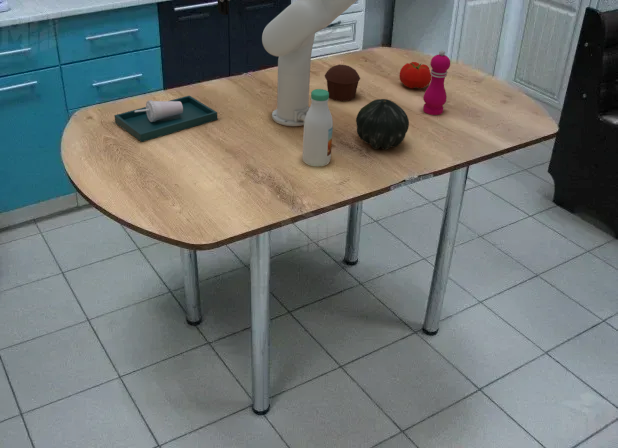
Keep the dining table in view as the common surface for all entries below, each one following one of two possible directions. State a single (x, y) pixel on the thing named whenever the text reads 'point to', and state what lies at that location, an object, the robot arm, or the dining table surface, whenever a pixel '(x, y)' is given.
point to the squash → (382, 124)
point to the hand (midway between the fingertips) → (223, 13)
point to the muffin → (342, 82)
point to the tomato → (415, 75)
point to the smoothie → (162, 109)
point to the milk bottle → (318, 130)
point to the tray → (166, 120)
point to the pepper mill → (436, 85)
